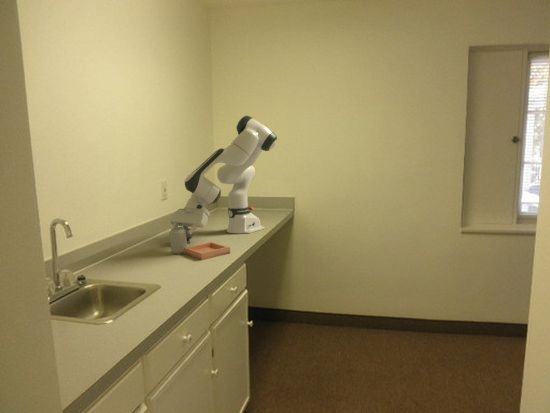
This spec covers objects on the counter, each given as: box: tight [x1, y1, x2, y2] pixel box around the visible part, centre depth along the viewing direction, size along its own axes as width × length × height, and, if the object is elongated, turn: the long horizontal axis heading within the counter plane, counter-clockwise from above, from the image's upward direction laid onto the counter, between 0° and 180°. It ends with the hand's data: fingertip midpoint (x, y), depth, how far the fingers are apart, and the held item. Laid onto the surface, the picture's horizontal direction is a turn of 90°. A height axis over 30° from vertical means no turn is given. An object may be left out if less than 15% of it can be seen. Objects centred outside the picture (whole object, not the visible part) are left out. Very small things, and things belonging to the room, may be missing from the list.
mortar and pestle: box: [182, 226, 194, 245], centre depth 219 cm, size 11×9×12 cm
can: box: [169, 226, 188, 255], centre depth 199 cm, size 8×8×12 cm
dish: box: [183, 241, 231, 261], centre depth 196 cm, size 15×15×3 cm
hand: (181, 232), depth 200 cm, fingers open, 8 cm apart
